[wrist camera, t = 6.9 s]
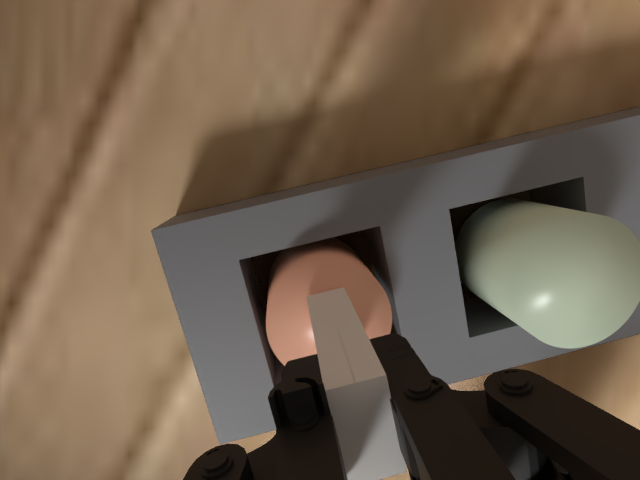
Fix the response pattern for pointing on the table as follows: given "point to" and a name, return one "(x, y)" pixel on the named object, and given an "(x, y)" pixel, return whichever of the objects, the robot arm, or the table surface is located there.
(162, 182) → the table surface
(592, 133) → the grey egg tray
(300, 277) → the pinkish-brown oval egg
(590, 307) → the pale green egg
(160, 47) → the table surface
